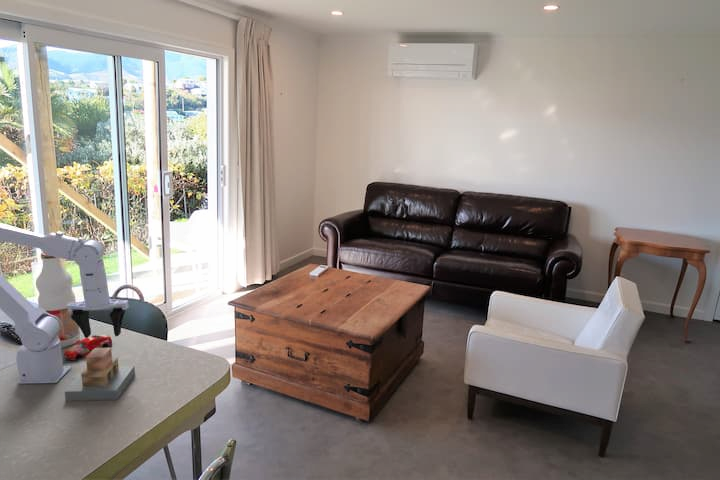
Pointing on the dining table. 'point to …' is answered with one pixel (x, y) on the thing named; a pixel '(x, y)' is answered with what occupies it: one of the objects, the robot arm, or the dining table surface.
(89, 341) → the race car
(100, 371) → the tan boxy piece
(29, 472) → the dining table surface
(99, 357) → the salmon pink block
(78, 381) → the dock
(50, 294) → the fruit juice
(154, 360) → the dining table surface
